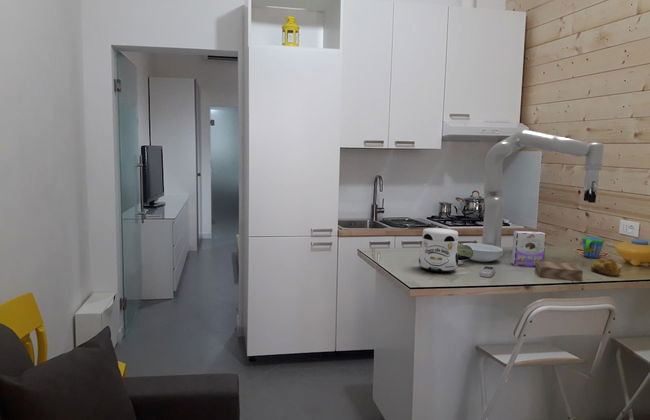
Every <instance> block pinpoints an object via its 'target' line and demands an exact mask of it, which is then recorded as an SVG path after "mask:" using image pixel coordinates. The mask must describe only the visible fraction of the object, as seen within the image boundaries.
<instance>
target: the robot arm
mask: <svg viewBox="0 0 650 420" xmlns="http://www.w3.org/2000/svg"><path fill="white" fill-rule="evenodd" d="M604 146H605V145H604V144H603V143H602V142H585V141H583V140H582V141H581V140H577V139H572V138H567V137H563V136H559V135H554V134H550V133H545V132H540V131H537V130H536V131H535V130H531V129H526V128H525V129H524V128H523V129H520V130H518V131H517V132H515V133H514V134H512V135H510V136H508V137H506V138H504V139H501V140H500V141H498V142H497V143H495V144H494V145H493V146H492V147H491V148H490V149H489V150H488V152H487V154H486V156H485V161H484V163H485V164H484V181H483V196H484V197H483V201H484V215H483V226H482V227H483V228H482V240H481V244H487V245H492V246H497V247H500V248H501V246H502V233H503V224H504V223H503V222H504V220H503V219H504V213H505V201H504V198H503V185H504V179H503V161H504V159H505V158H506V157H508V156H510V155H511V154H513V153H515V152H517V151H519V150H520V149H522V148H525V147H526V148H530V149H535V150H540V151H544V152H551V153H560V154H566V155H570V156H572V157H576V158H579V157H585V160H584V169H583V170H584V171H585V172H584V177H583V182H582V183H583V184H582V185H583V186H582V190H584V194H583V201H585V202H587V203H593V204H595V203H596V202H597V190H598V187H599V179H600V178H599V177H600V172H601V171H602V167H603V166H602V164H603V159H604V158H603V157H604ZM503 256H504V253H503V252H502V254H501V256H500V257H503Z"/></svg>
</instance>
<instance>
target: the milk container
mask: <svg viewBox="0 0 650 420" xmlns="http://www.w3.org/2000/svg"><path fill="white" fill-rule="evenodd" d="M422 230H423V231H422V240H421V250H420V253H419V255H418V263H419V267H421V268H422V269H423V270H425V271H429V272H435V273H451V272H454V271H456V270H457V268H458V265H459V256H458V255H459V254H458V246H459V241H458V240H459V232H458V231H457V230H454V229H450V228H442V227H441V228H440V227H429V228H428V227H426V228H423V229H422Z"/></svg>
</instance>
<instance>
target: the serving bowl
mask: <svg viewBox="0 0 650 420" xmlns="http://www.w3.org/2000/svg"><path fill="white" fill-rule="evenodd" d="M462 244H463V245H468V246H470V247H471V248H472V250H473V257H472V258H471V260H470V261H474V262H478V263H487V262H492V261H493V262H494V261H496V260H498V259H500V257H502V256H501V254H502V253H503V248H500V247H497V246H492V245H487V244H482V243H479V242H478V243H476V242H466V243H465V242H464V243H462Z"/></svg>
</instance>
